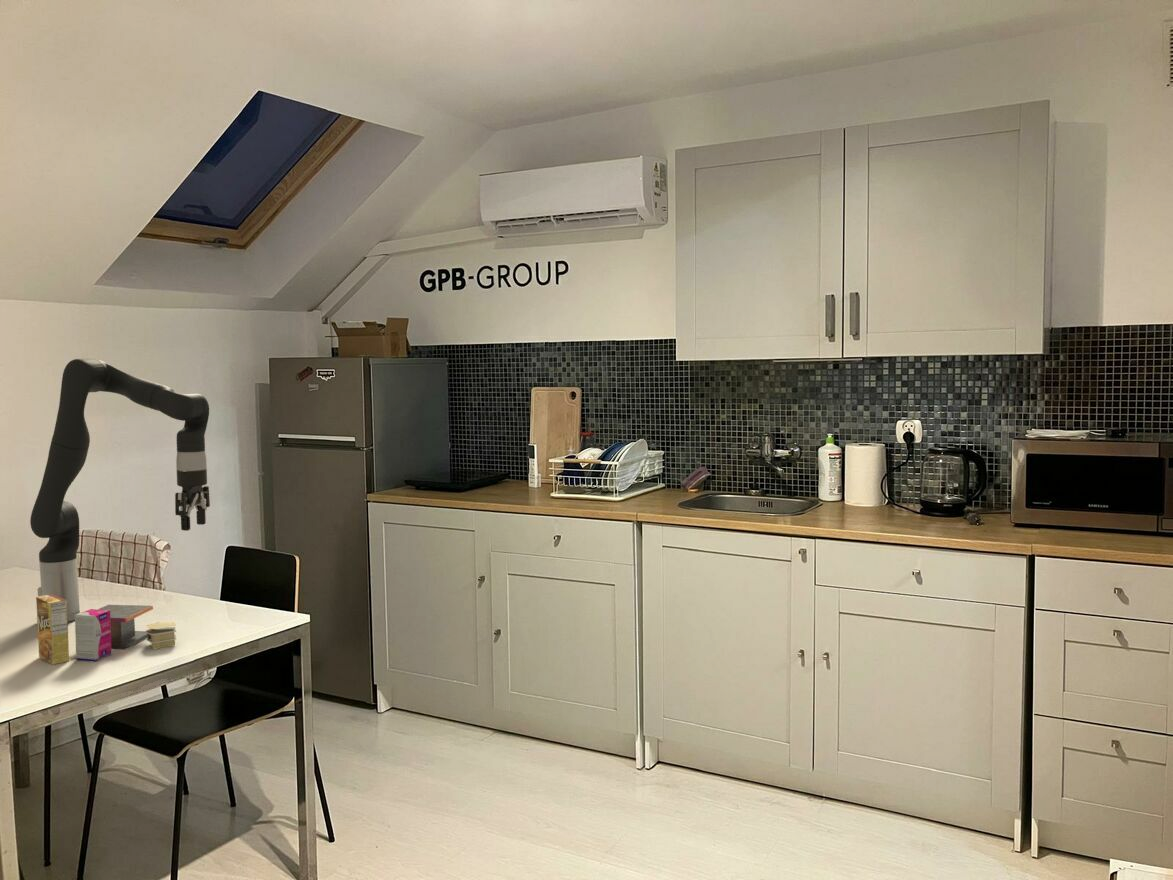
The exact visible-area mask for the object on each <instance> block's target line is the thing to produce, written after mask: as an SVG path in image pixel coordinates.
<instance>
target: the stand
mask: <svg viewBox="0 0 1173 880" xmlns="http://www.w3.org/2000/svg"><path fill="white" fill-rule="evenodd" d="M96 610H109V611H110V619H111V650H127V649H130V648H131V647H133V646H135V645H136V644H138V643H140V642H142V641H144V640H146V638H148V635H147V632H146V630H136V625H135V622H136V621H135V618H138V617H140V616H142V615H144V614H146V613H148V612H150V611H152V610H154V606H153V605H143V604H141V605H139V604H138V605H135V604H133V605H132V604H107V605H105V606H102V607H100V608H98V609H96Z"/></svg>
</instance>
